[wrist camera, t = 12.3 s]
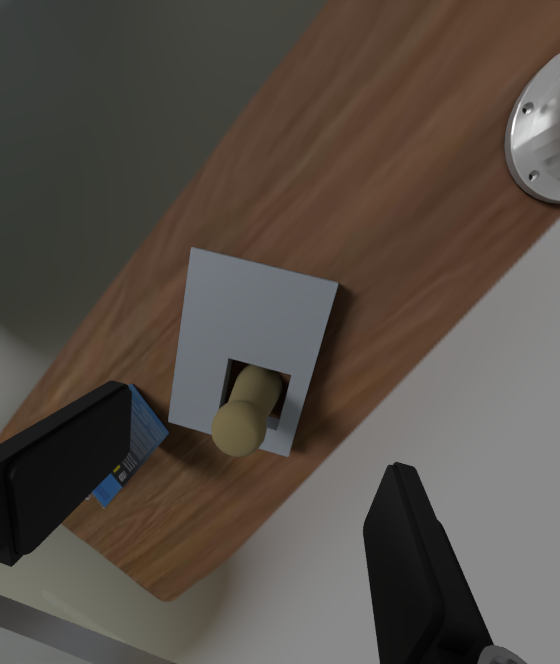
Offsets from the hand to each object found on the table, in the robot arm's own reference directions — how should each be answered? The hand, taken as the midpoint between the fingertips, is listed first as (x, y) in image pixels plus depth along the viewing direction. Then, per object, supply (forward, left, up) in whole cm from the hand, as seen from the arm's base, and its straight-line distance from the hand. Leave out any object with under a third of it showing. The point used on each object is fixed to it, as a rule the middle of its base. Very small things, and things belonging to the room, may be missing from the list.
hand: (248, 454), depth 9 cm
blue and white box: (+18, +19, -23) cm, 35 cm away
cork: (+2, +9, -23) cm, 25 cm away
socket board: (+5, +6, -23) cm, 24 cm away
